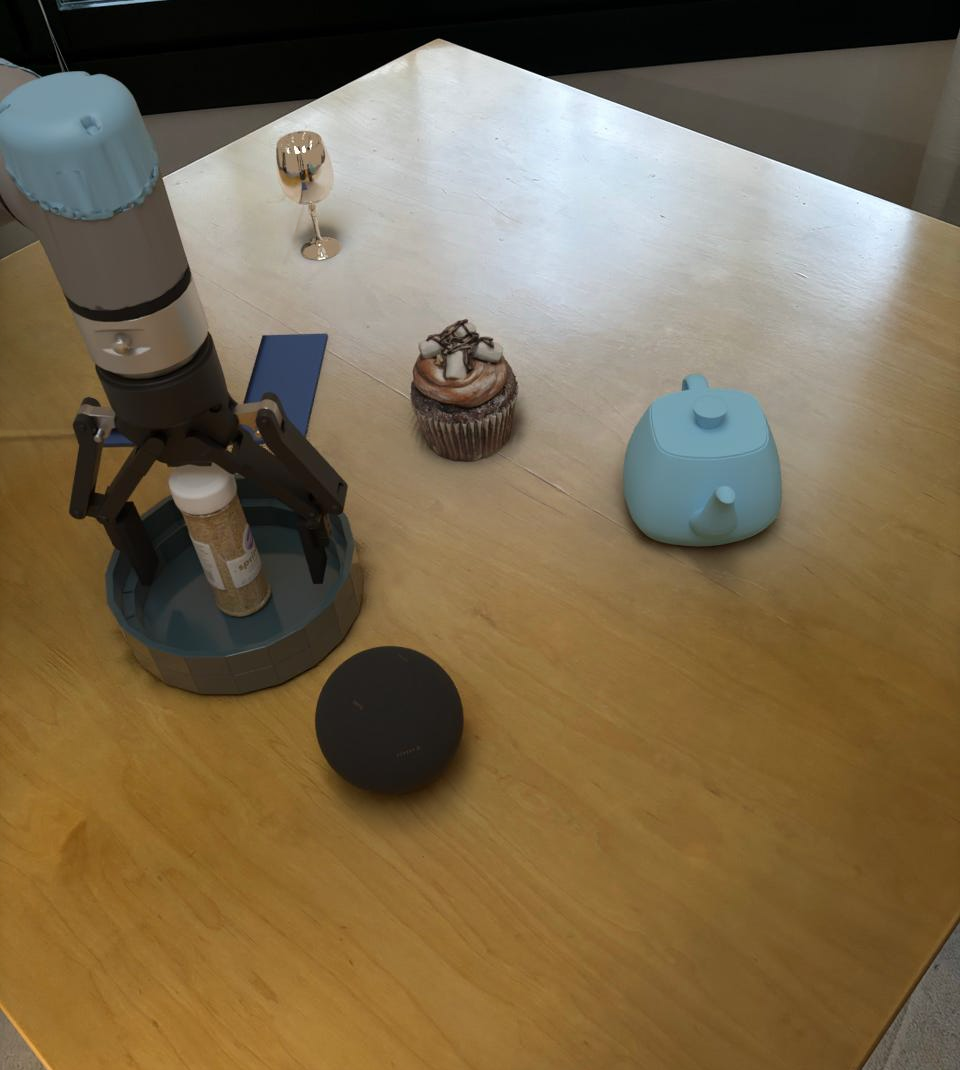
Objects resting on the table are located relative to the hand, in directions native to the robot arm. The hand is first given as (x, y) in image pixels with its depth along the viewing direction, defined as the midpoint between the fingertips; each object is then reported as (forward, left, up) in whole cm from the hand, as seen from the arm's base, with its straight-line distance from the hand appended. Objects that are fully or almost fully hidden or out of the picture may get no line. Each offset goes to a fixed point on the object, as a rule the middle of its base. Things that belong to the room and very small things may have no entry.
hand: (235, 572), depth 84 cm
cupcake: (+17, +20, -4) cm, 27 cm away
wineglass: (-1, +51, -4) cm, 51 cm away
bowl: (0, 0, -4) cm, 4 cm away
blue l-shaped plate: (-8, +27, -4) cm, 28 cm away
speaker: (+14, -15, -4) cm, 21 cm away
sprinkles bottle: (0, 0, -3) cm, 3 cm away
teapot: (+37, +9, -4) cm, 38 cm away
